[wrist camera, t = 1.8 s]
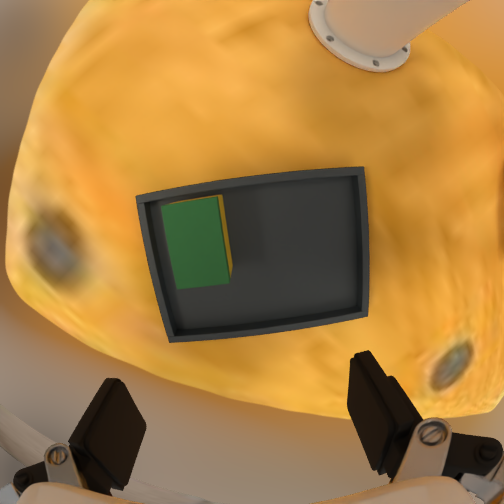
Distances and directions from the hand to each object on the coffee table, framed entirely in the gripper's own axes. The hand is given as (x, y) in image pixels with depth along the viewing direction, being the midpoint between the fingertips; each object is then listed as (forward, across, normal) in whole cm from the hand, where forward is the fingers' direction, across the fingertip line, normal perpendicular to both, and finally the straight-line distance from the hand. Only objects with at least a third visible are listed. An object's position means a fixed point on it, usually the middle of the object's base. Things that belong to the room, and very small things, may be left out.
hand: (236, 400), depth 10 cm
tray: (+18, -2, -1) cm, 19 cm away
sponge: (+18, +3, -4) cm, 19 cm away
